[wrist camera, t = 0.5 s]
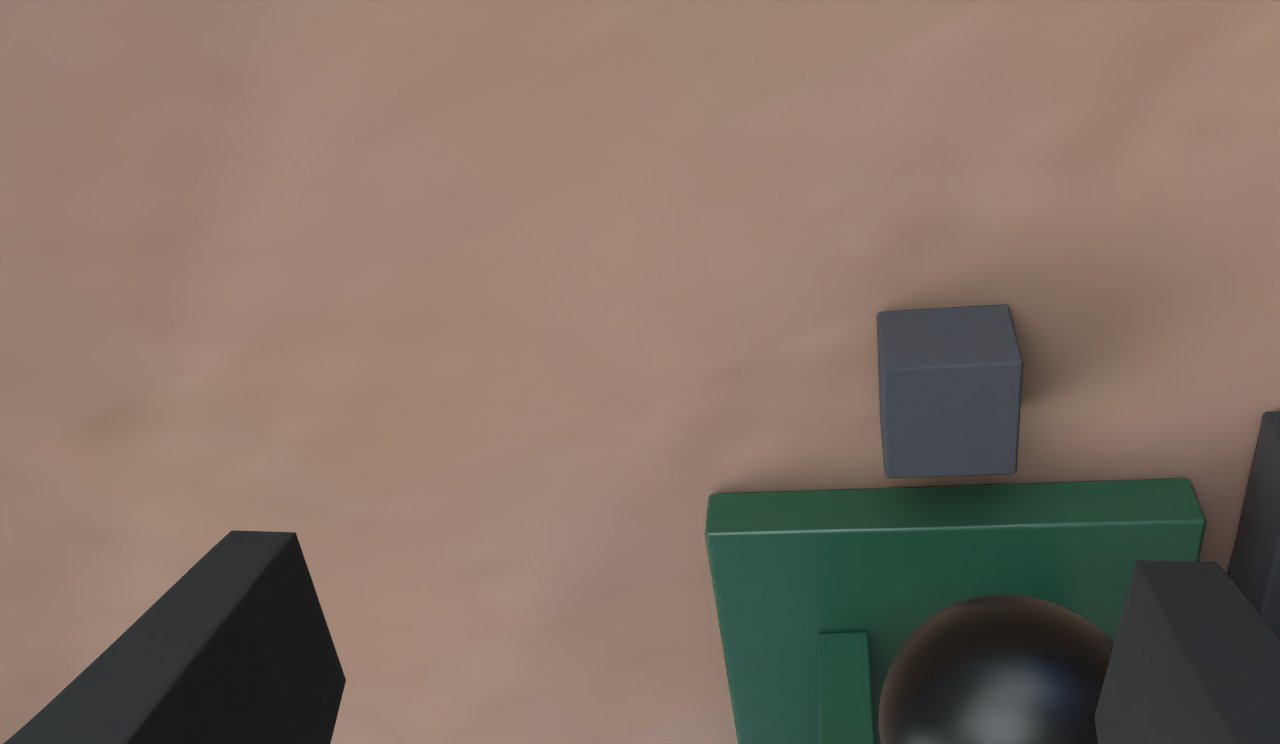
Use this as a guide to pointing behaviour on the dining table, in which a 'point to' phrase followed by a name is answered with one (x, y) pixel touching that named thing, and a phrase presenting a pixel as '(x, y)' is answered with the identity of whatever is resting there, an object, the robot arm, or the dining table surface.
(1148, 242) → the dining table surface
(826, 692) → the rod bracket
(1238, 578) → the button box
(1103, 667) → the rod
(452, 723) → the dining table surface
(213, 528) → the dining table surface
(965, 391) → the block
